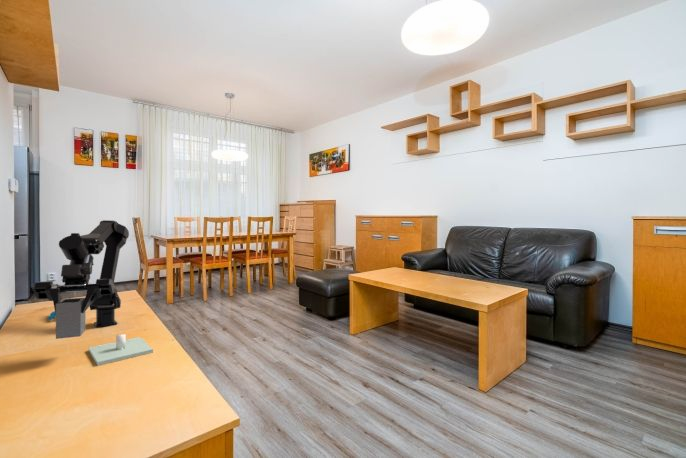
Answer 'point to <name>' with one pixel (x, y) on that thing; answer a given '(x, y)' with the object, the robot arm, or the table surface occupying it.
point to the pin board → (119, 350)
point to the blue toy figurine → (53, 314)
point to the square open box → (70, 318)
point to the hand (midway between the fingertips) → (69, 313)
